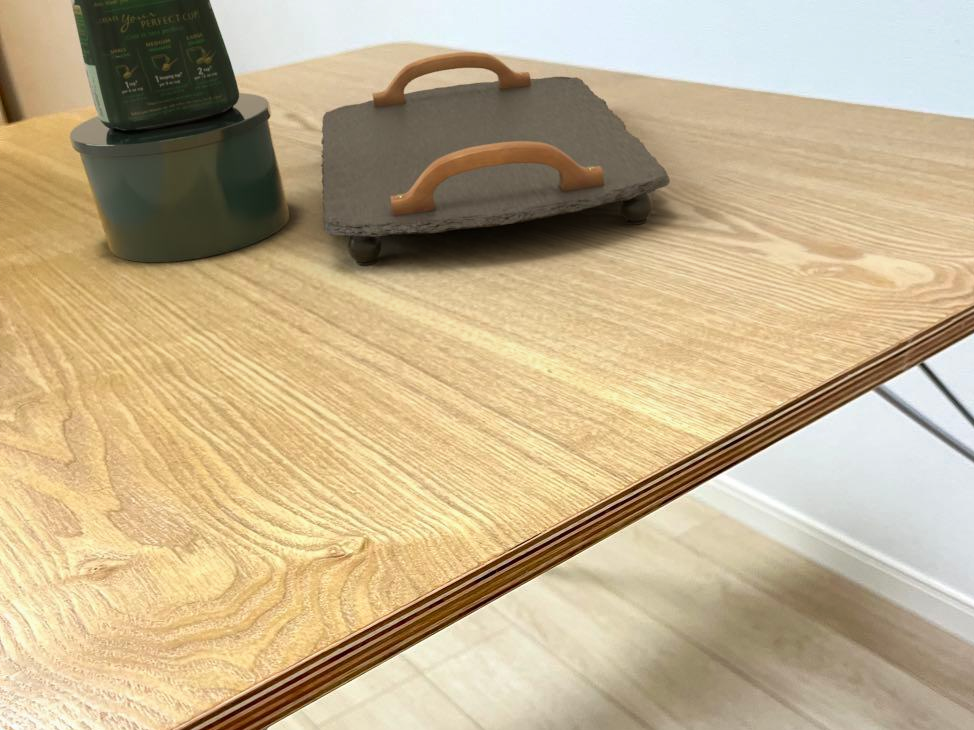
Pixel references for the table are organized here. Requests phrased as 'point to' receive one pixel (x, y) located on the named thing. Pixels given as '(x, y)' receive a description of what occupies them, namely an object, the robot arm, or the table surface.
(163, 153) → the canister
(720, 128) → the table surface
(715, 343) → the table surface
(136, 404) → the table surface
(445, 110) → the serving tray
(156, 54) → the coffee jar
